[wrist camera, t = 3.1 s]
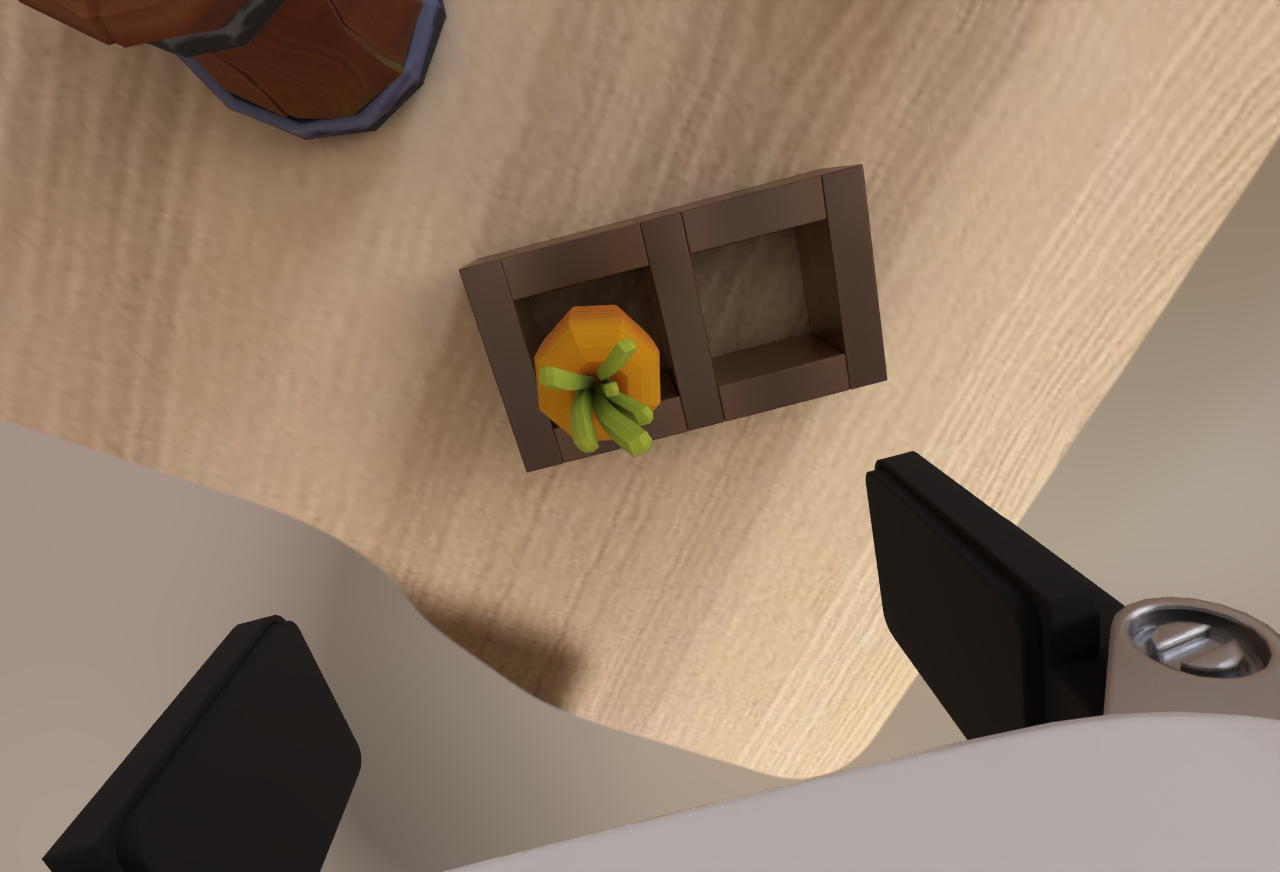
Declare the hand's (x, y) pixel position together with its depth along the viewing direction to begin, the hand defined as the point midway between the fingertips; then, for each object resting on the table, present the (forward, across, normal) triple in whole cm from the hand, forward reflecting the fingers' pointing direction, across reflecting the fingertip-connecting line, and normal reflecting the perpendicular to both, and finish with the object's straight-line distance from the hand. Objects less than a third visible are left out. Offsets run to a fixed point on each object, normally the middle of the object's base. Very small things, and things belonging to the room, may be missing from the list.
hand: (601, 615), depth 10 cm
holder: (+25, -4, 0) cm, 25 cm away
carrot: (+25, 0, 0) cm, 25 cm away
